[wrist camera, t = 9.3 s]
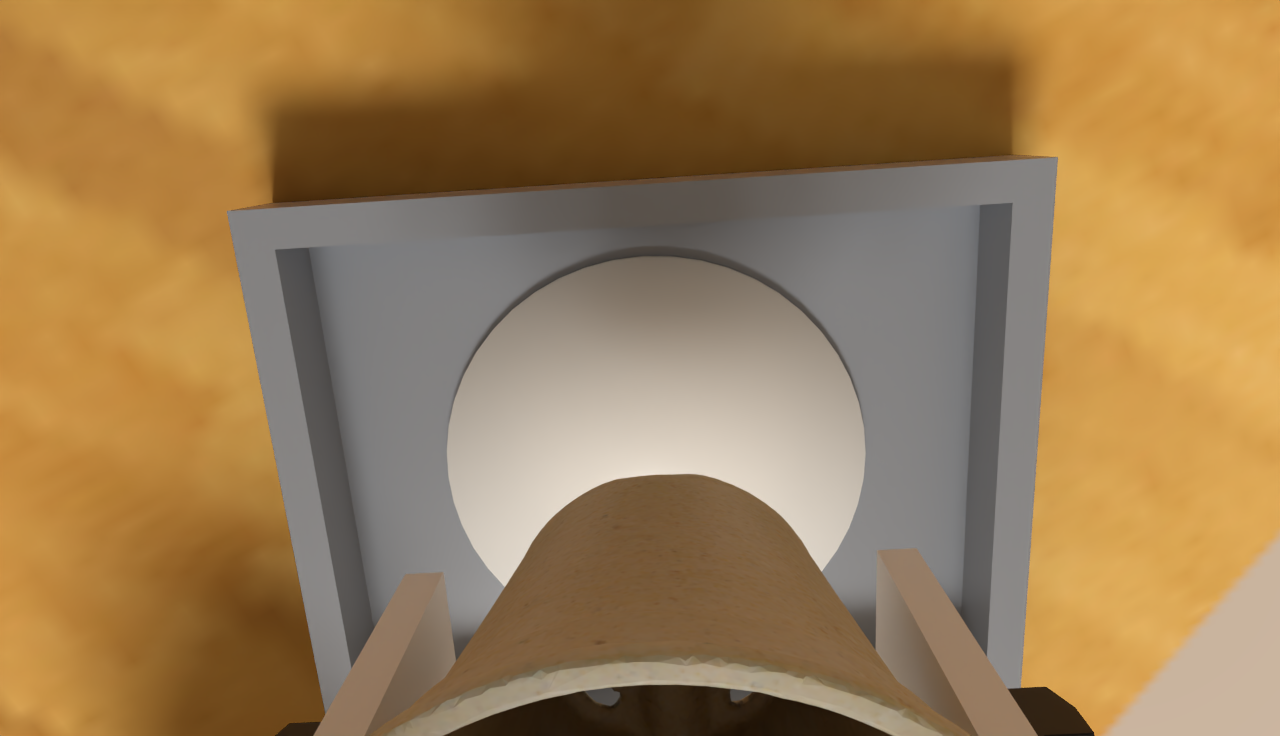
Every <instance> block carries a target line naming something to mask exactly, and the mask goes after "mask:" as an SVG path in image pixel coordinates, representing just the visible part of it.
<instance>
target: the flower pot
mask: <svg viewBox="0 0 1280 736" xmlns="http://www.w3.org/2000/svg"><path fill="white" fill-rule="evenodd" d="M603 688H612V689H613V691H614V692H615V691H617V692H619V693H620V697H619V698H618V701H617V702H616V703H615V704H613V705H611V706H609V705H605V704H602V703H598V702H596V701H595V700H593V699H592V698H591V697H590V696H589V695H588V694H587V693H586V692H585V691H587V690H595V689H603ZM731 689H737V690H745V691H753V692H752V693H751V694H749V695H748V696H746V697H744V698H742V699H741V700H737V701H731V696H730V691H731ZM369 736H971V735H970V734H969V733H967V732H966V731H964V730H963V729H962V728H960V727H959V726H957V725H956V724H954V723H953V722H951V721H949V720H948V719H946V718H945V717H943V716H941V715H940V714H938V713H937V712H935V711H933V710H932V709H931V708H930V707H929V706H928V705H927V704H926V703H925V702H924V701H922V700H921V699H920V698H919V697H918V696H917V695H915V694H914V693H913V692H912V691H910V690H909V689H907V688H906V687H905V686H903V685H902V684H900V683H899V682H898V681H897V680H896V678H895V677H894V676H893V674H892V673H891V671H890V670H889V669H888V667H887V666H886V664H885V663H884V661H883V660H882V659H881V657H880V656H879V654H878V653H877V651H876V650H875V649H874V647H873V646H872V644H871V643H870V641H869V640H868V638H867V637H866V636H865V634H864V633H863V631H862V630H861V628H860V627H859V626H858V624H857V623H856V621H855V620H854V618H853V617H852V615H851V614H850V613H849V611H848V610H847V608H846V607H845V605H844V604H843V603H842V601H841V600H840V598H839V597H838V595H837V594H836V593H835V591H834V590H833V588H832V587H831V585H830V584H829V582H828V581H827V579H826V578H825V576H824V575H823V573H822V572H821V570H820V569H819V567H818V566H817V564H816V563H815V561H814V560H813V558H812V557H811V556H810V554H809V552H808V550H807V548H806V547H805V545H804V544H803V542H802V540H801V539H800V538H799V537H798V535H797V534H796V533H795V531H794V530H793V529H792V527H791V526H790V525H789V524H788V523H787V522H786V521H785V520H784V518H783V517H782V516H781V515H779V514H778V513H777V512H776V511H775V510H774V509H772V508H771V507H770V506H768V505H767V504H766V503H765V502H763V501H761V500H760V499H758V498H757V497H755V496H754V495H752V494H750V493H749V492H747V491H745V490H743V489H741V488H738V487H736V486H734V485H732V484H729V483H727V482H724V481H721V480H718V479H715V478H712V477H708V476H704V475H698V474H663V475H646V476H637V477H629V478H621V479H616V480H613V481H610V482H606V483H604V484H601V485H599V486H597V487H595V488H593V489H591V490H589V491H587V492H586V493H584V494H582V495H580V496H579V497H577V498H576V499H575V500H573V501H572V502H570V503H569V504H567V505H566V506H565V507H564V508H562V509H561V510H560V511H559V512H558V513H557V514H555V515H554V516H553V517H552V518H551V519H550V520H549V521H548V522H547V523H546V525H545V526H544V527H543V528H542V529H541V531H540V532H539V533H538V535H537V536H536V537H535V539H534V540H533V542H532V543H531V545H530V547H529V549H528V551H527V553H526V554H525V556H524V558H523V559H522V561H521V563H520V564H519V566H518V567H517V569H516V570H515V572H514V573H513V575H512V577H511V578H510V580H509V581H508V583H507V585H506V586H505V588H504V589H503V591H502V592H501V594H500V595H499V597H498V599H497V600H496V602H495V603H494V605H493V606H492V608H491V609H490V611H489V612H488V614H487V615H486V617H485V619H484V620H483V622H482V623H481V625H480V626H479V628H478V629H477V631H476V632H475V634H474V635H473V637H472V638H471V640H470V641H469V643H468V644H467V646H466V647H465V649H464V650H463V652H462V653H461V655H460V656H459V658H458V659H457V660H456V662H455V663H454V665H453V666H452V668H451V669H450V671H449V672H448V674H447V675H446V677H445V678H444V679H443V680H441V681H440V682H439V683H437V684H436V685H435V686H433V687H432V688H431V689H430V690H429V691H427V692H426V693H425V694H424V695H423V696H422V697H420V698H419V699H418V700H417V701H416V702H415V703H414V704H413V705H412V706H411V707H410V708H408V709H407V710H405V711H404V712H402V713H400V714H399V715H397V716H396V717H394V718H393V719H391V720H390V721H388V722H387V723H385V724H384V725H382V726H381V727H380V728H378V729H377V730H376V731H374V732H373V733H372V734H370V735H369Z"/></svg>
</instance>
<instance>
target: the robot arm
mask: <svg viewBox="0 0 1280 736" xmlns="http://www.w3.org/2000/svg"><path fill="white" fill-rule="evenodd" d="M876 651H877V653H878V654H879V656H880V657H881V659H882V660H883V661H884V663H885V664H886V666H887V667H888V669H889V670H890V671H891V673H892V674H893V676H894V677H895V678H896V680H897V681H898V682H899V683H900V684H902V685H903V686H905V687H906V688H907V689H909V690H910V691H912V692H913V693H914V694H915V695H917V696H918V697H919V698H920V699H921V700H922V701H924V702H925V703H926V704H927V705H928V706H929V707H930V708H931V709H932V710H933V711H935V712H937V713H938V714H940V715H941V716H943V717H945V718H946V719H948V720H949V721H951V722H953V723H954V724H956V725H957V726H959V727H960V728H962V729H963V730H964V731H966V732H967V733H969V734H970V735H971V736H1094V732H1093V731H1092V729H1091V728H1090V727H1089V725H1088V724H1087V723H1086V721H1085V720H1084V719H1083V717H1082V716H1081V715H1080V713H1079V712H1078V711H1077V709H1076V708H1075V707H1074V706H1072V705H1071V704H1069V703H1068V702H1067V701H1065V700H1064V699H1062V698H1061V697H1060V696H1058V695H1057V694H1055V693H1054V692H1053V691H1051V690H1050V689H1048V688H1047V687H1032V688H1010V689H1007V687H1006V686H1005V684H1004V683H1003V681H1002V680H1001V678H1000V677H999V675H998V673H997V672H996V670H995V669H994V667H993V666H992V664H991V663H990V661H989V660H988V658H987V656H986V655H985V653H984V652H983V650H982V649H981V647H980V646H979V644H978V643H977V641H976V639H975V638H974V636H973V635H972V633H971V632H970V630H969V629H968V627H967V626H966V624H965V622H964V621H963V619H962V618H961V616H960V615H959V613H958V612H957V610H956V609H955V607H954V605H953V604H952V602H951V601H950V599H949V598H948V596H947V595H946V593H945V592H944V590H943V588H942V587H941V585H940V584H939V582H938V581H937V579H936V578H935V576H934V575H933V573H932V571H931V570H930V568H929V567H928V565H927V564H926V562H925V561H924V559H923V558H922V556H921V554H920V553H919V551H918V550H917V548H911V549H891V550H877V582H876ZM455 662H456V657H455V650H454V643H453V636H452V629H451V622H450V615H449V608H448V601H447V593H446V586H445V579H444V572H437V573H418V574H405V576H404V577H403V579H402V581H401V583H400V584H399V586H398V588H397V590H396V591H395V593H394V595H393V597H392V598H391V600H390V602H389V604H388V605H387V607H386V609H385V611H384V612H383V614H382V616H381V618H380V619H379V621H378V623H377V625H376V627H375V628H374V630H373V632H372V634H371V635H370V637H369V639H368V641H367V642H366V644H365V646H364V648H363V649H362V651H361V653H360V655H359V656H358V658H357V660H356V662H355V663H354V665H353V667H352V669H351V670H350V672H349V674H348V676H347V677H346V679H345V681H344V683H343V685H342V686H341V688H340V690H339V692H338V693H337V695H336V697H335V699H334V700H333V702H332V704H331V706H330V707H329V709H328V711H327V713H326V714H325V716H324V718H323V720H322V721H321V722H308V723H289V724H288V725H287V726H286V727H285V728H284V729H282V730H281V731H280V732H279V733H278V734H277V735H275V736H369V735H370V734H372V733H373V732H374V731H376V730H377V729H378V728H380V727H381V726H382V725H384V724H385V723H387V722H388V721H390V720H391V719H393V718H394V717H396V716H397V715H399V714H400V713H402V712H404V711H405V710H407V709H408V708H410V707H411V706H412V705H413V704H414V703H415V702H416V701H417V700H418V699H419V698H420V697H422V696H423V695H424V694H425V693H426V692H427V691H429V690H430V689H431V688H432V687H433V686H435V685H436V684H437V683H439V682H440V681H441V680H443V679H444V678H445V677H446V675H447V674H448V672H449V671H450V669H451V668H452V666H453V665H454V663H455Z"/></svg>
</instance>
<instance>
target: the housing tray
mask: <svg viewBox="0 0 1280 736" xmlns="http://www.w3.org/2000/svg"><path fill="white" fill-rule="evenodd" d="M1057 162H1058V157H1043V156H1025V155H1003V156H988V157H973V158H957V159H942V160H926V161H911V162H896V163H880V164H865V165H850V166H834V167H819V168H803V169H788V170H773V171H757V172H742V173H726V174H711V175H696V176H680V177H665V178H650V179H634V180H619V181H603V182H588V183H573V184H557V185H542V186H526V187H511V188H496V189H480V190H465V191H450V192H434V193H419V194H403V195H388V196H373V197H357V198H342V199H326V200H311V201H296V202H280V203H269V204H264V205H258V206H253V207H247V208H242V209H236V210H230V211H227V215H228V220H229V225H230V230H231V235H232V240H233V245H234V250H235V256H236V261H237V266H238V271H239V276H240V281H241V286H242V291H243V296H244V301H245V307H246V312H247V317H248V322H249V327H250V332H251V337H252V342H253V347H254V352H255V358H256V363H257V368H258V373H259V378H260V383H261V388H262V393H263V398H264V403H265V409H266V414H267V419H268V424H269V429H270V434H271V439H272V444H273V449H274V454H275V460H276V465H277V470H278V475H279V480H280V485H281V490H282V495H283V500H284V505H285V511H286V516H287V521H288V526H289V531H290V536H291V541H292V546H293V551H294V557H295V562H296V567H297V572H298V577H299V582H300V587H301V592H302V597H303V602H304V608H305V613H306V618H307V623H308V628H309V633H310V638H311V643H312V648H313V653H314V659H315V664H316V669H317V674H318V679H319V684H320V689H321V694H322V699H323V704H324V710H325V714H326V713H327V711H328V709H329V707H330V706H331V704H332V702H333V700H334V699H335V697H336V695H337V693H338V692H339V690H340V688H341V686H342V685H343V683H344V681H345V679H346V677H347V676H348V674H349V672H350V670H351V669H352V667H353V665H354V663H355V662H356V660H357V658H358V656H359V655H360V653H361V651H362V649H363V648H364V646H365V644H366V642H367V641H368V639H369V637H370V635H371V634H372V632H373V630H374V628H375V627H376V625H377V623H378V621H379V619H380V618H381V616H382V614H383V612H384V611H385V609H386V607H387V605H388V604H389V602H390V600H391V598H392V597H393V595H394V593H395V591H396V590H397V588H398V586H399V584H400V583H401V581H402V579H403V577H404V576H405V574H418V573H437V572H444V579H445V586H446V593H447V601H448V608H449V615H450V622H451V629H452V636H453V643H454V650H455V657H456V660H457V659H458V658H459V656H460V655H461V653H462V652H463V650H464V649H465V647H466V646H467V644H468V643H469V641H470V640H471V638H472V637H473V635H474V634H475V632H476V631H477V629H478V628H479V626H480V625H481V623H482V622H483V620H484V619H485V617H486V615H487V614H488V612H489V611H490V609H491V608H492V606H493V605H494V603H495V602H496V600H497V599H498V597H499V595H500V594H501V592H502V591H503V589H504V588H505V586H506V585H507V583H508V581H509V580H510V578H511V577H512V575H513V573H514V572H515V570H516V569H517V567H518V566H519V564H520V563H521V561H522V559H523V558H524V556H525V554H526V553H527V551H528V549H529V547H530V545H531V543H532V542H533V540H534V539H535V537H536V536H537V535H538V533H539V532H540V531H541V529H542V528H543V527H544V526H545V525H546V523H547V522H548V521H549V520H550V519H551V518H552V517H553V516H554V515H555V514H557V513H558V512H559V511H560V510H561V509H562V508H564V507H565V506H566V505H567V504H569V503H570V502H572V501H573V500H575V499H576V498H577V497H579V496H580V495H582V494H584V493H586V492H587V491H589V490H591V489H593V488H595V487H597V486H599V485H601V484H604V483H606V482H610V481H613V480H616V479H621V478H629V477H637V476H646V475H663V474H698V475H704V476H708V477H712V478H715V479H718V480H721V481H724V482H727V483H729V484H732V485H734V486H736V487H738V488H741V489H743V490H745V491H747V492H749V493H750V494H752V495H754V496H755V497H757V498H758V499H760V500H761V501H763V502H765V503H766V504H767V505H768V506H770V507H771V508H772V509H774V510H775V511H776V512H777V513H778V514H779V515H781V516H782V517H783V518H784V520H785V521H786V522H787V523H788V524H789V525H790V526H791V527H792V529H793V530H794V531H795V533H796V534H797V535H798V537H799V538H800V539H801V540H802V542H803V544H804V545H805V547H806V548H807V550H808V552H809V554H810V556H811V557H812V558H813V560H814V561H815V563H816V564H817V566H818V567H819V569H820V570H821V572H822V573H823V575H824V576H825V578H826V579H827V581H828V582H829V584H830V585H831V587H832V588H833V590H834V591H835V593H836V594H837V595H838V597H839V598H840V600H841V601H842V603H843V604H844V605H845V607H846V608H847V610H848V611H849V613H850V614H851V615H852V617H853V618H854V620H855V621H856V623H857V624H858V626H859V627H860V628H861V630H862V631H863V633H864V634H865V636H866V637H867V638H868V640H869V641H870V643H871V644H872V646H873V647H874V649H875V650H876V582H877V550H891V549H911V548H917V550H918V551H919V553H920V554H921V556H922V558H923V559H924V561H925V562H926V564H927V565H928V567H929V568H930V570H931V571H932V573H933V575H934V576H935V578H936V579H937V581H938V582H939V584H940V585H941V587H942V588H943V590H944V592H945V593H946V595H947V596H948V598H949V599H950V601H951V602H952V604H953V605H954V607H955V609H956V610H957V612H958V613H959V615H960V616H961V618H962V619H963V621H964V622H965V624H966V626H967V627H968V629H969V630H970V632H971V633H972V635H973V636H974V638H975V639H976V641H977V643H978V644H979V646H980V647H981V649H982V650H983V652H984V653H985V655H986V656H987V658H988V660H989V661H990V663H991V664H992V666H993V667H994V669H995V670H996V672H997V673H998V675H999V677H1000V678H1001V680H1002V681H1003V683H1004V684H1005V686H1006V687H1007V689H1010V688H1021V675H1022V661H1023V646H1024V632H1025V618H1026V604H1027V589H1028V575H1029V561H1030V547H1031V532H1032V518H1033V504H1034V490H1035V475H1036V461H1037V447H1038V433H1039V418H1040V404H1041V390H1042V375H1043V361H1044V347H1045V333H1046V318H1047V304H1048V290H1049V276H1050V261H1051V247H1052V233H1053V219H1054V204H1055V190H1056V176H1057ZM585 692H586V693H587V694H588V695H589V696H590V697H591V698H592V699H593V700H595V701H596V702H598V703H602V704H605V705H609V706H611V705H613V704H615V703H616V702H617V701H618V698H619V697H620V693H619V692H617V691H615V692H614V691H613V689H612V688H603V689H595V690H587V691H585ZM752 692H753V691H745V690H737V689H731V691H730V696H731V701H737V700H741V699H742V698H744V697H746V696H748V695H749V694H751V693H752Z"/></svg>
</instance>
